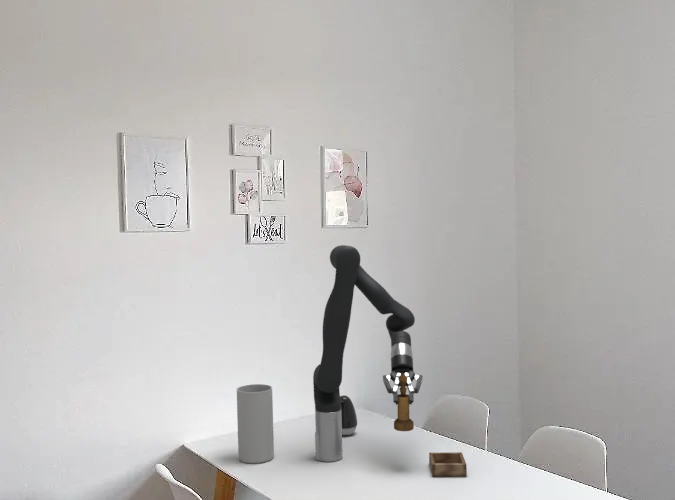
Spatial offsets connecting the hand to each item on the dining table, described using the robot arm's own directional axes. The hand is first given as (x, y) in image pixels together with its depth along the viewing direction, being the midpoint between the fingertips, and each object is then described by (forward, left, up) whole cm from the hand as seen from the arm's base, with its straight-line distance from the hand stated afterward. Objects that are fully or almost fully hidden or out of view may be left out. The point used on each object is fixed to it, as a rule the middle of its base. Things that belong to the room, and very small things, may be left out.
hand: (403, 403), depth 226 cm
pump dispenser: (-22, +42, -23) cm, 53 cm away
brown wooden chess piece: (0, +2, -9) cm, 9 cm away
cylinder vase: (-52, +14, -23) cm, 59 cm away
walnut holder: (+14, +1, -23) cm, 27 cm away
